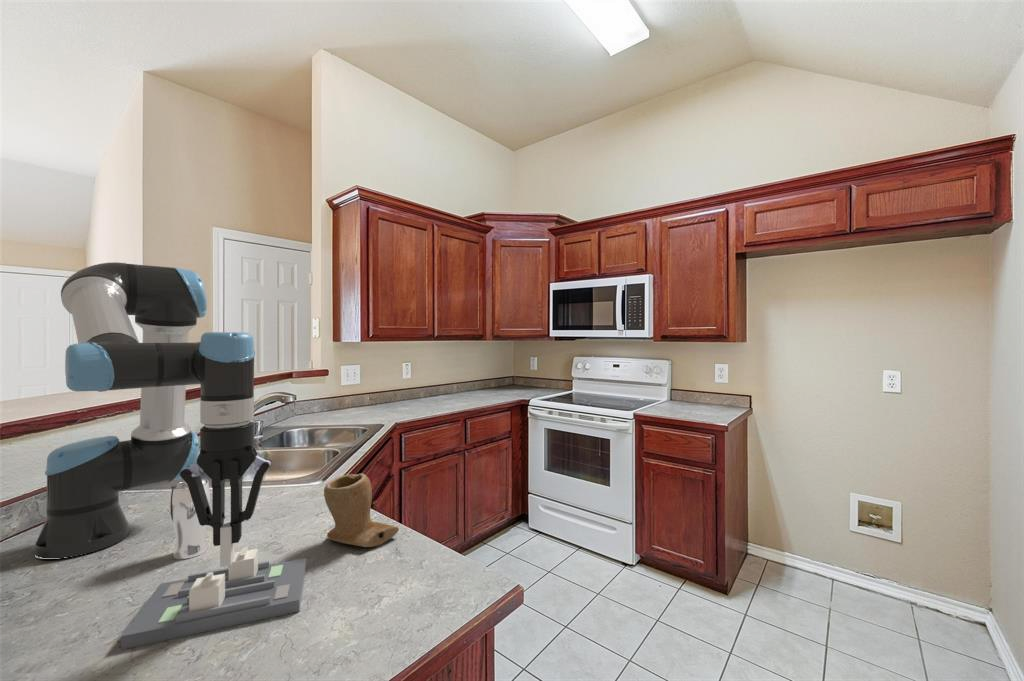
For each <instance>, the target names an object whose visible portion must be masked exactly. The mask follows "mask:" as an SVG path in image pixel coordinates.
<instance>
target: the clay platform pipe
mask: <svg viewBox="0 0 1024 681" xmlns="http://www.w3.org/2000/svg"><path fill="white" fill-rule="evenodd" d="M372 490H373V489H372V483H371V480H370V478H369V477H368V476H367V475H366V473H365V474H364V473H358V474H353V473H347V474H344V475H340V476H337V477H336V478H334V479H331V481H329V482H328V483H326V484H325V487H324V488H323V491H324V492H323V496H324V500H325V503H326V506H327V509H328V510H329V513H330V515H331V516H332V518H333V521H334V527H333V528H331V529H330V530H329V531H328V532H327V534H326V537H327V538H328V539H329V540H331V541H332V542H333V541H334V542H337V543H341V544H346V545H350V546H351V545H352V546H358V547H363V548H372V547H378V546H381V545H383V544H385V543H386V542H388V541H389V540H390V539H392V538H393V537H395V535H397V533H398V532H399V531H400V528H399V526H395V525H391V524H387V523H383V522H382V523H381V522H378V521H372V519H371V508H372V506H371V505H372V499H373V498H372V497H373V495H372V494H373V493H372V492H373V491H372Z"/></svg>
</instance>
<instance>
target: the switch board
mask: <svg viewBox="0 0 1024 681" xmlns="http://www.w3.org/2000/svg"><path fill="white" fill-rule="evenodd" d="M306 571H307V558H306V557H304V558H299V559H293V560H288V561H283V562H281V561H280V562H276V563H275V562H274V563H270V560H267V561H261V562H258V571H257V573H256V576H253V577H247V578H242V579H236V580H231V581H228V567H225V568H219V569H214V570H207V571H202V572H201V571H200V572H196V573H190V574H189V575H188V578H185V579H177V580H173V581H166V582H161V583H160V584H159V585H158V586H157V587H156V589H155V591H154V592H153V593H152V595H151V596H150V597H149V598H148V600H147V601H146V602H145V604H144V605H143V606H142V608H141V609H140V610H139V612H138V613H137V614H136V616H134V618H133V620H132V621H131V622H130V624H129V625H128V626H127V627H126V629H125V630H124V632H122V634H121V636H120V650H122V651H123V650H127V649H131V648H136V647H140V646H145V645H149V644H154V643H160V642H162V641H168V640H173V639H177V638H183V637H187V636H192V635H196V634H201V633H205V632H210V631H214V630H219V629H224V628H228V627H235V626H238V625H242V624H247V623H252V622H257V621H262V620H265V619H266V620H267V619H271V618H275V617H276V618H277V617H282V616H284V615H289V614H288V613H290V614H293V613H292V612H295V613H299V612H300V609H301V604H302V596H303V592H304V586H305V580H304V579H306V573H307V572H306ZM210 572H213V576H214V575H219V574H225V598H224V600H223V602H222V605H221V606H217V607H212V608H207V609H202V610H197V611H192V612H189V591H190V589H191V588H192V586H193V584H194V583H195V581H196V579H197V578H202V577H206V575H207V573H210ZM298 611H299V612H298ZM261 619H262V620H261Z"/></svg>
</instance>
